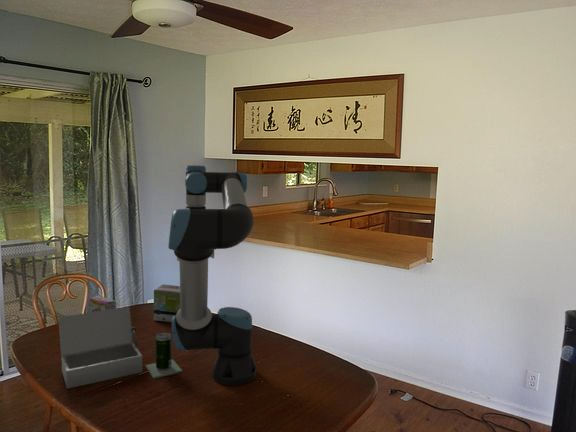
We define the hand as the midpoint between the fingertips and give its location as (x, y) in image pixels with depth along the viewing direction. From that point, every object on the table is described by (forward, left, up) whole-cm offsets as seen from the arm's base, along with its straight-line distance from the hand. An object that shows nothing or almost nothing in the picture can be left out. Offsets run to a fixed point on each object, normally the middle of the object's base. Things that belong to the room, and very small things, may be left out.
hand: (195, 259), depth 183 cm
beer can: (-16, +18, -34) cm, 42 cm away
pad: (-16, +18, -35) cm, 42 cm away
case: (-5, +36, -35) cm, 51 cm away
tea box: (+31, -1, -35) cm, 47 cm away
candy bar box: (+23, +31, -35) cm, 52 cm away
